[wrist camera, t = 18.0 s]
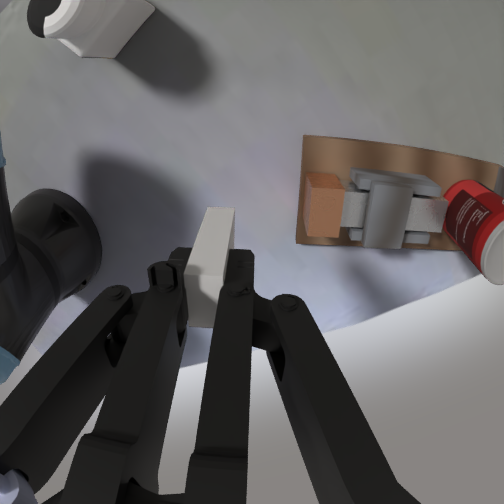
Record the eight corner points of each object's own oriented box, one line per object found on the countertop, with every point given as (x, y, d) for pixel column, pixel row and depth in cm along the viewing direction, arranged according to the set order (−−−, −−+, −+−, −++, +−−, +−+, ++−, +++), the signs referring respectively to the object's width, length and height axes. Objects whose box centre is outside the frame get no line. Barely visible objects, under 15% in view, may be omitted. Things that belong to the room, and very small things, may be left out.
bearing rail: (295, 238, 37) (300, 270, 32) (303, 134, 31) (311, 148, 25) (476, 247, 36) (500, 273, 31) (499, 164, 30) (530, 182, 25)
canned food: (489, 221, 33) (538, 266, 24) (442, 244, 35) (484, 298, 26) (482, 167, 30) (539, 204, 20) (430, 191, 32) (481, 236, 22)
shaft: (302, 215, 34) (307, 236, 30) (306, 172, 32) (312, 187, 28) (426, 223, 34) (444, 242, 30) (435, 184, 31) (455, 200, 27)
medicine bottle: (75, 29, 25) (5, 23, 15) (114, -20, 22) (54, -48, 12) (114, 59, 27) (49, 59, 17) (157, 8, 24) (105, -19, 14)
